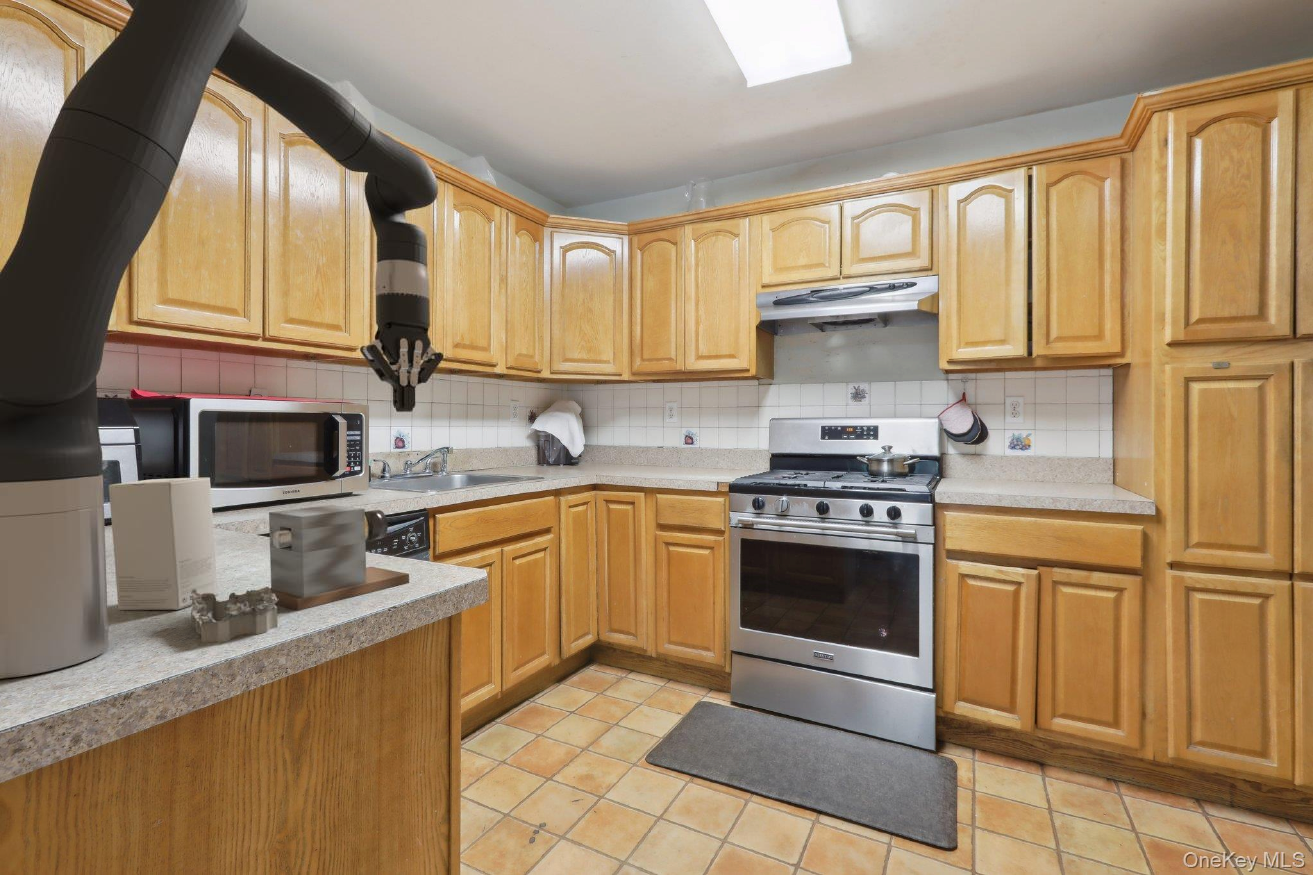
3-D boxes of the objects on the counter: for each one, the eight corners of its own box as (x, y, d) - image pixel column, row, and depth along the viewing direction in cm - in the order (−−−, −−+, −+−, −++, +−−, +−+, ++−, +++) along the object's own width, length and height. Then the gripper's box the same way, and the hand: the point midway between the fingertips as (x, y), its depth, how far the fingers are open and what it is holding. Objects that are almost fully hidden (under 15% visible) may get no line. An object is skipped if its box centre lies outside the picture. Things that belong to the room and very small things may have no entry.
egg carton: (189, 624, 70) (188, 588, 70) (267, 611, 75) (266, 577, 75) (196, 649, 62) (194, 608, 62) (283, 632, 67) (281, 594, 67)
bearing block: (297, 610, 74) (295, 518, 73) (261, 599, 79) (258, 513, 78) (409, 582, 86) (407, 503, 86) (371, 574, 91) (369, 499, 91)
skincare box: (219, 597, 80) (215, 476, 80) (175, 612, 74) (170, 481, 73) (160, 596, 81) (156, 477, 81) (111, 611, 75) (106, 482, 74)
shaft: (286, 559, 75) (285, 523, 75) (268, 555, 77) (267, 520, 77) (389, 541, 86) (388, 509, 86) (370, 538, 89) (369, 507, 88)
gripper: (376, 284, 85) (377, 410, 86) (455, 300, 96) (457, 412, 97) (346, 291, 90) (348, 411, 90) (425, 306, 101) (427, 413, 101)
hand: (404, 411), depth 93 cm, fingers closed
